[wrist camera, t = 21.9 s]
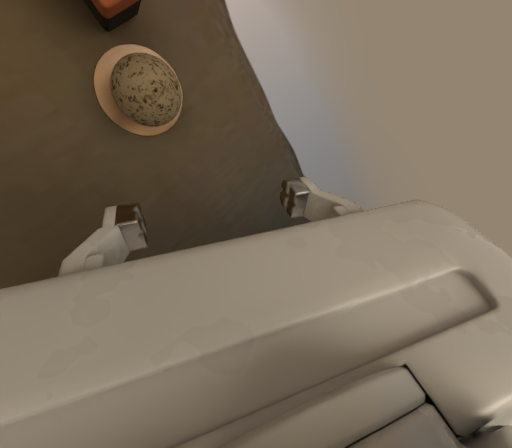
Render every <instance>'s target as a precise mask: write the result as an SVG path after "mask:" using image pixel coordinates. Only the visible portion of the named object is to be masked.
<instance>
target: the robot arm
mask: <svg viewBox="0 0 512 448" xmlns="http://www.w3.org/2000/svg"><path fill="white" fill-rule="evenodd" d="M281 187H282V188H283V190H282V191H281V192H280V201H281V204H282V205H283V207H285V208H287V213H288V214H289V216H290V217H291V218H294V217H300V216H304V217H305V218H307V219H309V220H310V221H312V222H310V223H305V224H300V225H296V226H291V227H286V228H282V229H277V230H272V231H268V232H263V233H258V234H254V235H249V236H245V237H240V238H235V239H231V240H226V241H221V242H217V243H212V244H207V245H203V246H198V247H193V248H189V249H184V250H179V251H175V252H170V253H165V254H161V255H156V256H151V257H147V258H142V259H138V260H133V261H128V262H124V260H125V259H126V257H127V256H128V255H129V253H130V251H134V250H138V249H142V248H147V236H146V233H147V227H146V222H145V218H144V216H143V215H142V214H141V207H140V204H139V203H132V204H125V205H118V206H111V207H106V208H105V212H104V218H103V224H102V228H99V229H97V230H96V231H95V232H94V233H93V234H92V235H91V236H90V237H88V238H87V239H86V240H85V241H84V242H83V243H82V244H81V245H79V246H78V247H77V248H76V249H75V250H74V251H73V252H72V253H70V254H69V255H68V256H67V257H66V258H65V259H64V260H63V261H62V264H61V268H60V271H59V274H58V277H54V278H49V279H45V280H40V281H35V282H31V283H26V284H21V285H17V286H12V287H7V288H3V289H0V448H512V258H511V257H510V256H509V255H507V254H506V253H505V252H504V251H502V250H501V249H500V248H499V247H498V246H496V245H495V244H494V243H492V242H491V241H490V240H489V239H488V238H486V237H485V236H484V235H483V234H481V233H480V232H479V231H477V230H476V229H475V228H473V227H472V226H471V225H470V224H468V223H467V222H465V221H464V220H463V219H462V218H460V217H459V216H458V215H456V214H455V213H453V212H451V211H450V210H448V209H446V208H443V207H441V206H438V205H435V204H432V203H428V202H425V201H422V200H412V201H407V202H402V203H398V204H393V205H389V206H384V207H380V208H375V209H370V210H366V211H363V210H362V209H361V208H360V207H359V206H358V205H357V204H356V203H355V202H352V201H350V200H347V199H345V198H342V197H339V196H337V195H334V194H331V193H329V192H326V191H323V190H318V188H317V187H316V186H315V185H314V184H313V183H312V182H311V181H310V180H309V179H308V178H307V177H299V178H295V179H289V180H283V182H282V185H281ZM123 262H124V263H123Z"/></svg>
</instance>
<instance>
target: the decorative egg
mask: <svg viewBox="0 0 512 448" xmlns="http://www.w3.org/2000/svg"><path fill="white" fill-rule="evenodd" d="M110 86H111V92H112V95H113V98H114V100H115V102H116V104H117V105H118V107H119V108H120V110H121V111H122V112H123V113H124V114H125V115H126V116H127V117H129V118H130V119H131V120H133V121H134V122H136V123H139V124H141V125H144V126H150V127H157V126H162V125H165V124H167V123H169V122H170V121H171V120H173V119H174V118H175V116H176V115H177V113H178V111H179V109H180V106H181V101H182V93H181V87H180V84H179V81H178V79H177V77H176V75H175V74H174V72H173V71H172V69H171V68H170V67H169V66H168V65H167V64H166V63H165V62H164V61H162V60H161V59H159V58H157V57H156V56H153V55H150V54H147V53H131V54H128V55H125V56H124V57H122V58H121V59H120V60H119V61H118V62H117V63H116V64H115V66H114V68H113V70H112V73H111V78H110Z"/></svg>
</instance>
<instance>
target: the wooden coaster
mask: <svg viewBox="0 0 512 448" xmlns="http://www.w3.org/2000/svg"><path fill="white" fill-rule="evenodd" d="M131 53H147V54H150V55H153V56H156V57H157V58H159V59H161V60H162V61H164V62H165V63H166V64H167V65H168V66H169V67H170V68H171V69H172V67H171V66H170V65H169V64H168V63H167V62H166V60H165V59H164V58H162V57H161V56H160V55H159V54H157V53H156V52H154V51H152V50H150V49H148V48H146V47H143V46H140V45H135V44H123V45H118V46H115V47H113V48H111V49H110V50H108V51H107V52H106V53H104V54H103V55H102V57H101V58H100V60H99V61H98V63H97V65H96V69H95V73H94V87H95V92H96V96H97V99H98V101H99V103H100V105H101V107H102V108H103V110H104V111H105V113H106V114H107V115H108V116H109V118H110V119H111V120H112V121H114V122H115V123H116V124H117V125H119V126H120V127H121V128H123V129H125V130H127V131H129V132H131V133H134V134H138V135H146V136H150V135H157V134H160V133H163V132H165V131H166V130H168V129H169V128H171V127H172V126H173V125H174V124H175V122H176V121H177V119H178V117H179V115H180V113H181V109H182V103H183V95H182V101H181V106H180V109H179V111H178V113H177V115H176V116H175V118H174V119H173V120H171V121H170V122H169V123H167V124H165V125H162V126H157V127H150V126H144V125H141V124H139V123H136V122H134V121H133V120H131V119H130V118H129V117H127V116H126V115H125V114H124V113H123V112H122V111H121V110H120V108H119V107H118V105H117V104H116V102H115V100H114V98H113V95H112V92H111V86H110V78H111V73H112V70H113V68H114V66H115V64H116V63H117V62H118V61H119V60H120V59H121V58H122V57H124V56H125V55H128V54H131ZM172 71H173V72H174V70H173V69H172ZM174 74H175V72H174ZM175 75H176V74H175ZM176 77H177V76H176ZM177 79H178V77H177ZM178 81H179V80H178ZM179 84H180V82H179ZM180 87H181V85H180ZM181 93H182V89H181Z"/></svg>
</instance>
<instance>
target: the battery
mask: <svg viewBox="0 0 512 448" xmlns="http://www.w3.org/2000/svg"><path fill="white" fill-rule="evenodd" d="M84 1H85V3H86V4H87V6H88V7H89V8H90V10H91V11H92V13H93V14H94V15H95V17H96V18H97V20H98V21H99V22H100V24H101V25H102V26H103V28H104V29H105V30H107V31H111V30H113V29H114V28H116V27H118V26H119V25H121V24H122V23H124V22H126V21H127V20H129V19H130V18H132V17H134V16H135V15H137V13H138V10H139V6H140V2H141V0H84Z"/></svg>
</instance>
